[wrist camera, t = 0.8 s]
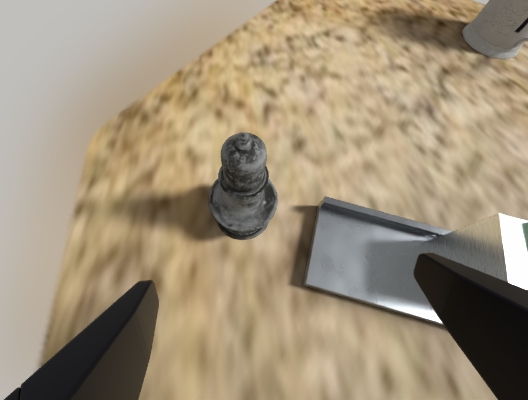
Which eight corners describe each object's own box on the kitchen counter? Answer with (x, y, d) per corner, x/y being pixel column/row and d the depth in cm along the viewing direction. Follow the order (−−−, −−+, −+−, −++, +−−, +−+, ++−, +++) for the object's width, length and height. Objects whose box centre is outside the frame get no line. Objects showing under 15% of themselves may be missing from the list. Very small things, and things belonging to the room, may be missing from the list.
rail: (529, 350, 22) (689, 370, 14) (302, 285, 22) (334, 269, 15) (515, 259, 25) (637, 235, 17) (318, 205, 26) (350, 158, 18)
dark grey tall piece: (200, 210, 25) (167, 127, 14) (246, 176, 26) (249, 79, 16) (239, 256, 23) (237, 202, 12) (285, 216, 25) (318, 140, 14)
